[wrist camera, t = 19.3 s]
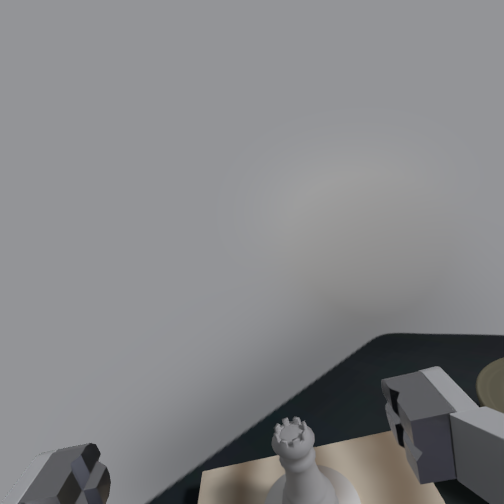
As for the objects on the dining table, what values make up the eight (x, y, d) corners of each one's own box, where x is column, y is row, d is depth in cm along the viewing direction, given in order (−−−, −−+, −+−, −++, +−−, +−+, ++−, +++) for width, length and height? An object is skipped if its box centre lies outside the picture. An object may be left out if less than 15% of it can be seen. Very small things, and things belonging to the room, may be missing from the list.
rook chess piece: (281, 490, 29) (259, 415, 27) (331, 478, 29) (312, 401, 27) (289, 547, 24) (263, 462, 23) (348, 533, 24) (327, 446, 22)
